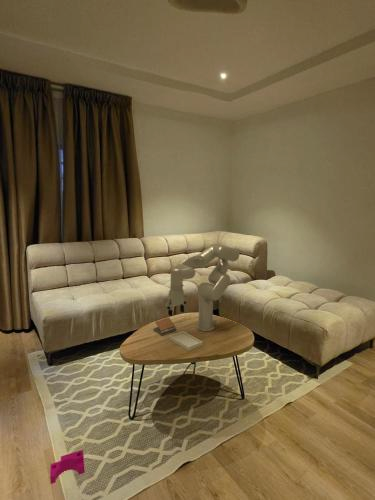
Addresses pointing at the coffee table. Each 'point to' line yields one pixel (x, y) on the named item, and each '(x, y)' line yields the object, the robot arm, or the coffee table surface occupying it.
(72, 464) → the toy block
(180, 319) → the coffee table surface
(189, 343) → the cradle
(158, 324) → the latch flap
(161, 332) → the hinge plinth
